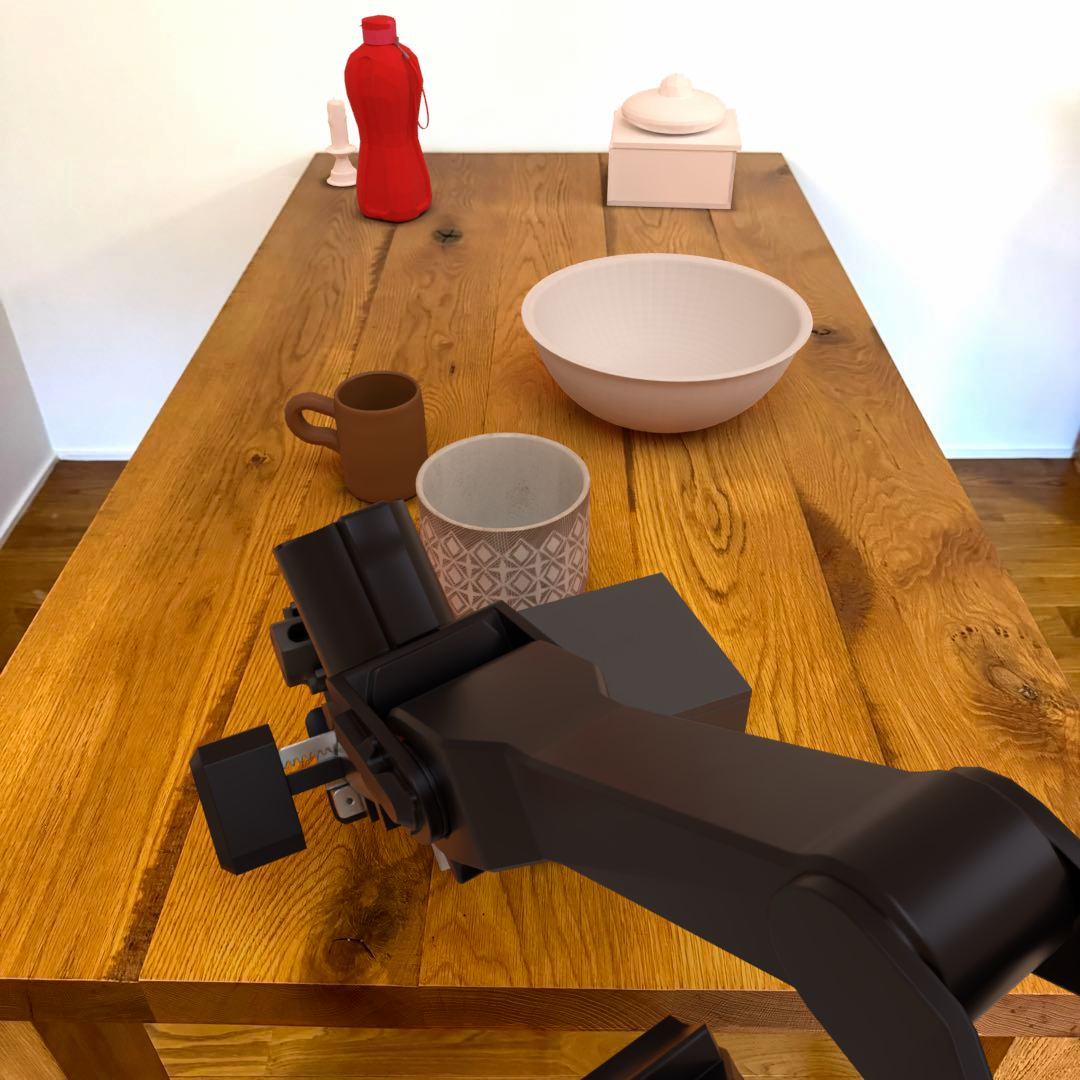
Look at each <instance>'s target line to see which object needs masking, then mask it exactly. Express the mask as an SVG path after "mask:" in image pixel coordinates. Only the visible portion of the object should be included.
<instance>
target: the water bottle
mask: <svg viewBox="0 0 1080 1080" xmlns="http://www.w3.org/2000/svg"><path fill="white" fill-rule="evenodd" d="M359 27H361V33H362V43H361V44H360V45H359V46H358V47H357V48H355V49H354V50H353V51H352V52H351V53H350V54H348V55H349V56H348V57H347V59H346V63H345V67H344V70H343V76H344V77H343V80H344V87H345V93H346V96H347V100H348V103H349V106H350V109H351V112H352V114H353V117H354V121H355V124H356V126H357V131H358V137H359V149H358V158H357V167H356V170H357V177H356V185H355V187H356V188H355V189H356V202H357V203H356V204H357V206H358V209H359V211H360V212H361V214H362V215H363V216H364V217H367V218H370V219H377V220H383V221H388V222H393V223H403V222H411V221H412V220H413V219H415V218H416V217H419V215H421V214H422V213H424V212H426V211H427V210H429V209H430V207H431V206H432V200H433V191H432V185H431V177H430V172H429V169H428V166H427V163H426V159H425V156H424V153H423V148H422V146H421V142H420V140H419V139H420V138H419V128H420V129H421V130H425V129H427V128H428V127H429V124H430V114H429V113H430V112H429V106H428V101H427V97H426V94H425V87H424V77H423V73H422V68H421V65H420V62H419V58H418V56H417V55H416V53H414V51H413V50H412V49H411V48H410V47H408V46H407V45H405V44H403V43H401V42H400V37H399V36H398V32H397V31H398V30H397V21H396V19H395V17H393V16H390V15H387V14H376V15H370V16H369V15H368V16H364V17H363V18H361V24H360V25H359ZM422 97H423V100H424V103H425V104H424V105H425V112H426V126H425V127H424V126H422V125H421V124H420V121H419V117H420V109H421V103H422Z"/></svg>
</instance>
